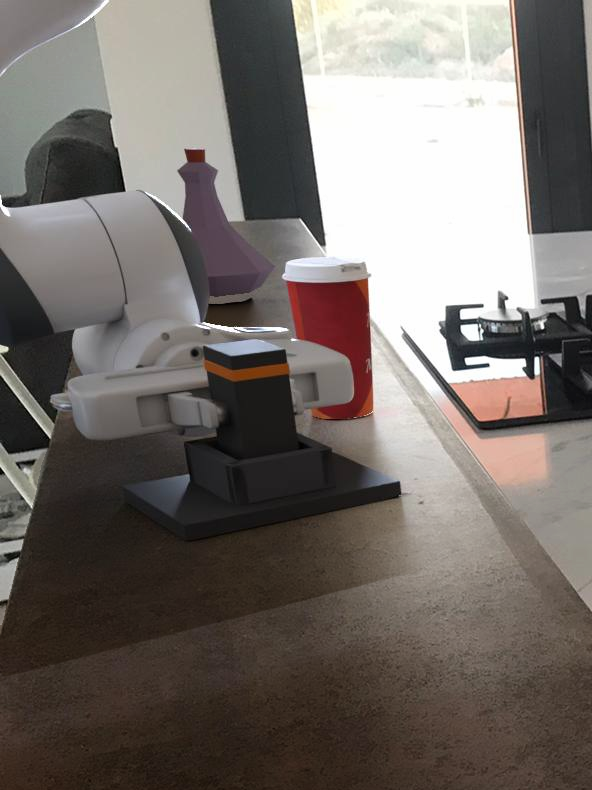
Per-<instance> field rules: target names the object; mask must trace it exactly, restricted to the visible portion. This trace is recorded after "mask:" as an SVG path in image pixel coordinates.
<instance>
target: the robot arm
mask: <svg viewBox="0 0 592 790" xmlns="http://www.w3.org/2000/svg"><path fill="white" fill-rule="evenodd" d="M108 2H109V0H0V77H2V75H3V74H4V72H6V70H7V69H8V68H10V66H12V65H13V64H14V63H15V62H17V60H18V59H21V57H23V56H24V55H26V54H27V53H29V52H30V51H33V50H34V49H36V48H37V47H40V46H42V45H43V44H45V43H47V42H49V41H51V40H54V39H56V38H59V37H60V36H62V35H64V34H66V33H68V32H70V31H72V30H74V29H76V28H78V27H79V26H81V25H82V24H84V23H85V22H87V21H88V20H90V18H92V17H93V16H95V15H96V14H97V13H98V12H100V10H101V9H102V8H104V6H105V5H106V4H107V3H108ZM182 219H183V218H181V217H180V216H179V215H178V214H177V213H176V212H175V211H174V210H172V209H171V208H170V207H169V206H168V205H166V204H165V203H164V202H163V201H162V200H160V199H159V198H157V197H156V196H154V195H152V194H150V193H149V192H146V191H144V190H142V189H136V190H132V191H131V190H130V191H129V190H128V191H122V192H121V191H120V192H111V193H105V194H96V195H89V196H82V197H78V198H77V199H69V200H63V201H62V200H61V201H56V202H55V201H54V202H49V203H41V204H40V203H39V204H33V205H27V206H21V207H20V206H19V207H7V206H5V205H3V204H2V196H0V346H3V347H6V348H9V349H11V348H15V347H18V346H22V345H25V344H29V343H33V342H36V341H39V340H42V339H46V338H49V337H53V336H55V334H57V333H62V332H67V331H72V330H74V332H73V334H72V339H71V350H72V354H73V359H74V361H75V364H76V366H77V368H78V370H79V371H80V373H81V374H82V375H78V376H75V377H72V378H70V379H69V380H68V381H67V383H66V387H67V389H65V390H64V392H61V393H54V394H51V395H50V399H49V403H50V404H51V405H52V407H53V408H54V409H56V410H57V411H60V412H64V413H71V414H72V418H73V422H74V425H75V427H76V429H77V430H78V431H79V433H80V434H81V435H82V436H84V437H85V438H86V439H88V440H90V441H95V442H96V441H98V442H111V441H118V440H123V439H130V438H135V437H142V436H147V435H154V434H155V435H156V434H160V433H167V432H168V433H170V434H173V435H176V436H181V437H191V438H192V437H193V438H195V437H203V436H208V435H211V434H214V433H216V428H220V427H226V426H230V425H231V417H230V416H229V414H230V410H229V406H228V404H227V402H225V401H223V400H221V399H211V396H210V390H209V384H208V377H207V371H206V370H205V366H204V359H205V358H204V352H203V346H204V345H211V344H220V343H228V342H236V341H244V340H253V339H257V340H260V341H263V342H266V343H269V344H272V345H274V346H277V347H280V348H283V349H285V350H286V355H287V363H289V369H290V374H289V378H290V385H291V393H292V400H293V408H294V415H295V416H300V415H303V414H304V411H306V410H311V409H312V408H319V407H325V406H331V405H338V404H345V403H348V402H350V401H351V400H352V398H353V396H354V382H353V374H352V368H351V364H350V361H349V359H348V358H347V357H346V356H344V355H343V354H341V353H339V352H337V351H334V350H332V349H330V348H327V347H324V346H322V345H319V344H316V343H313V342H309V341H305V340H298V339H297V338H293V334H292V331H290V330H289V329H287V328H283V327H269V326H267V327H265V326H262V327H261V326H259V327H258V326H257V327H245V326H244V327H241V326H240V327H237V326H236V327H235V326H234V327H228V326H221V325H215V324H210V323H206V322H205V319H206V317H207V313H208V309H209V305H208V304H209V298H210V294H209V282H208V275H207V270H206V266H205V262H204V259H203V256H202V253H201V250H200V247H199V245H198V242H197V240H196V238H195V236H194V235H193V233H192V231H191V230H190V228H189V227H188V226H187V224H186V223H185V222H184V221H183V220H182Z"/></svg>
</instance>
